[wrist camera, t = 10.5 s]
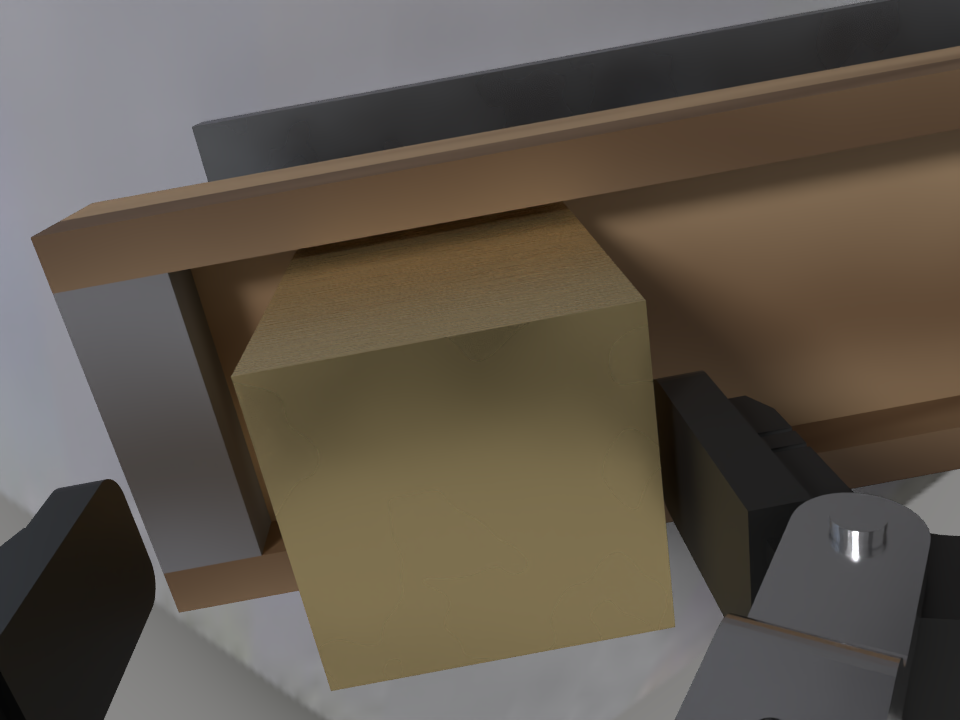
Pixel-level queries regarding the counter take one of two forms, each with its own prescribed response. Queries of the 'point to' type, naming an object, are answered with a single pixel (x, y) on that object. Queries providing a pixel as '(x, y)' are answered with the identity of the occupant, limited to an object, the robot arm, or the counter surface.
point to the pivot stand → (575, 85)
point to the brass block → (461, 444)
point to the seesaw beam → (621, 234)
